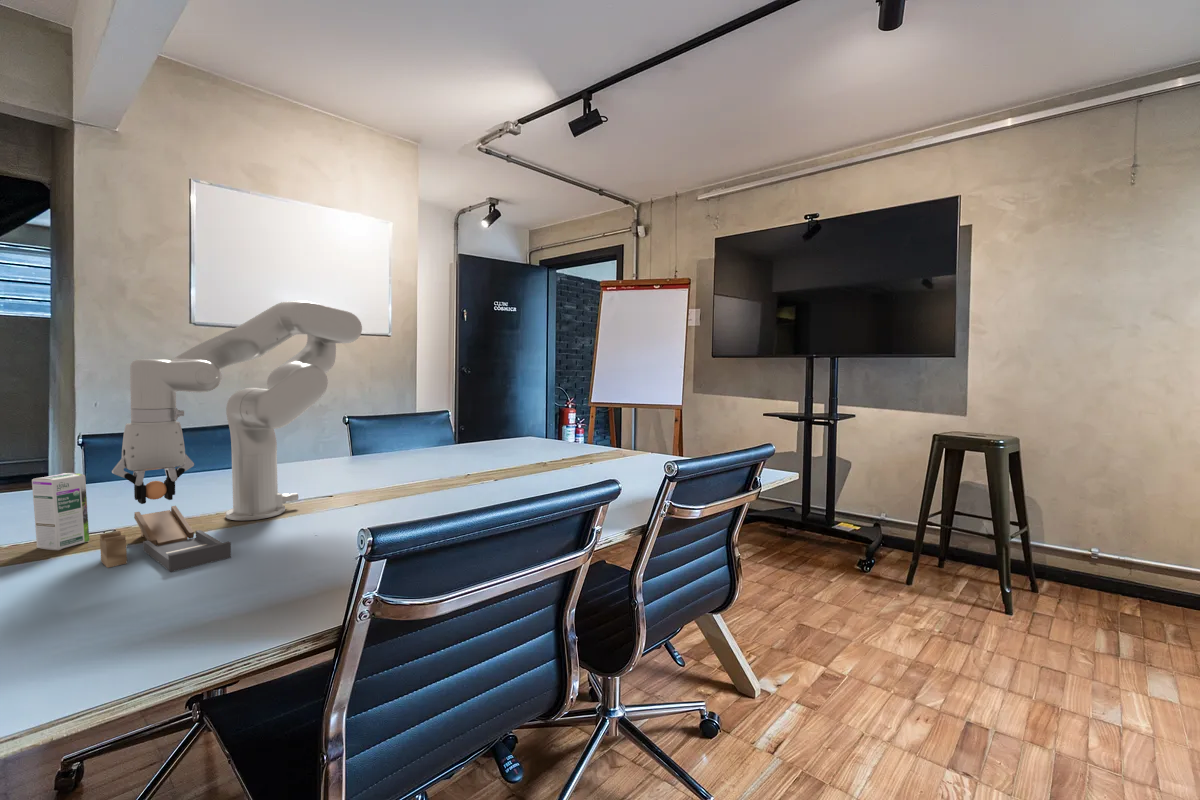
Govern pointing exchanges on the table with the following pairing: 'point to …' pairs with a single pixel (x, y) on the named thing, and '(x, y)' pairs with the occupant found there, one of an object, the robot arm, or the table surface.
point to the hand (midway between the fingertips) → (155, 499)
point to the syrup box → (60, 511)
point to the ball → (155, 490)
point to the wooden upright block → (113, 549)
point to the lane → (188, 552)
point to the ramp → (164, 526)
